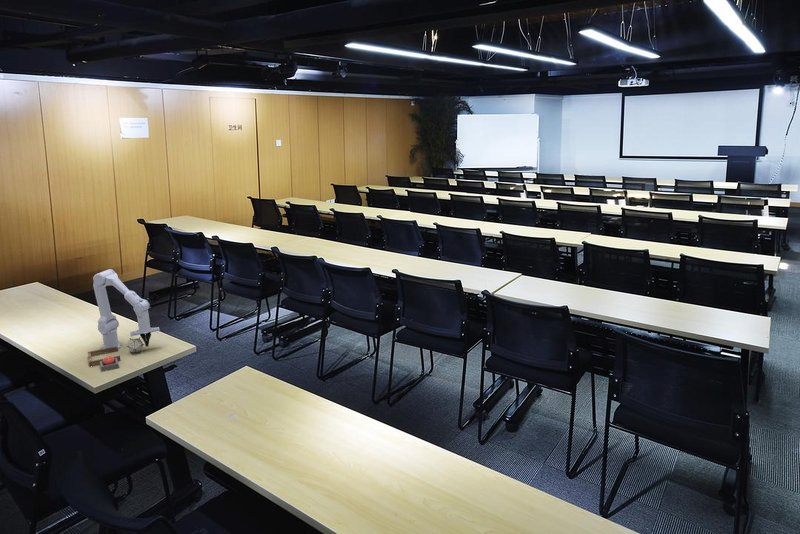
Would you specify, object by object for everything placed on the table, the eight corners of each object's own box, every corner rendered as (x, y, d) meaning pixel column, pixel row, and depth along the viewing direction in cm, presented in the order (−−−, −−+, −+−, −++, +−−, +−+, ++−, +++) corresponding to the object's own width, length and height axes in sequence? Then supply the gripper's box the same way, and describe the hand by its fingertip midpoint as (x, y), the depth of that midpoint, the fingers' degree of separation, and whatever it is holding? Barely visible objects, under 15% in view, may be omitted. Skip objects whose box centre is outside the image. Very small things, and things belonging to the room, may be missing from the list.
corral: (88, 356, 293) (87, 351, 292) (117, 350, 300) (117, 346, 299) (89, 366, 280) (89, 362, 279) (120, 360, 287) (119, 356, 286)
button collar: (100, 365, 281) (99, 361, 281) (117, 362, 285) (117, 357, 285) (101, 371, 275) (100, 367, 274) (119, 367, 279) (118, 363, 278)
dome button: (103, 363, 280) (102, 355, 279) (114, 361, 283) (113, 353, 282) (104, 366, 276) (102, 359, 275) (115, 364, 279) (113, 357, 278)
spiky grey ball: (138, 359, 297) (135, 350, 289) (125, 353, 298) (121, 343, 290) (149, 346, 303) (146, 337, 295) (135, 340, 304) (132, 331, 296)
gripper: (129, 327, 289) (133, 351, 293) (159, 322, 297) (162, 345, 300) (128, 323, 295) (131, 346, 299) (157, 318, 302) (160, 341, 306)
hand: (147, 345), depth 300 cm, fingers closed
